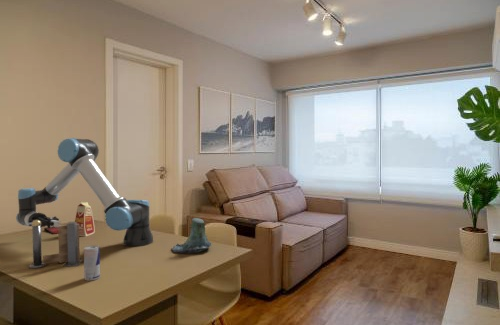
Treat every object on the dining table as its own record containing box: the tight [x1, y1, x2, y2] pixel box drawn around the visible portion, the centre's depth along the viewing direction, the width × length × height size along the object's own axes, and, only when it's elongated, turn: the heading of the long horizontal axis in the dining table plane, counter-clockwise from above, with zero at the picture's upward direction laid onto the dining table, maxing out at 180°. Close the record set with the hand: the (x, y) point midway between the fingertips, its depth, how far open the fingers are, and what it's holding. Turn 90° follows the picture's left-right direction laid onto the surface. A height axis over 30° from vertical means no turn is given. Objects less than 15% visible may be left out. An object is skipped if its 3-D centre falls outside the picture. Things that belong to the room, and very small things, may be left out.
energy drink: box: [83, 245, 101, 282], centre depth 127 cm, size 5×5×12 cm
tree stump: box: [171, 217, 212, 254], centre depth 165 cm, size 18×20×18 cm
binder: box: [43, 226, 59, 235], centre depth 211 cm, size 16×2×21 cm
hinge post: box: [28, 220, 47, 269], centre depth 141 cm, size 6×6×20 cm
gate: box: [42, 224, 81, 264], centre depth 146 cm, size 14×2×16 cm, turn 120°
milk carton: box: [74, 201, 96, 237], centre depth 198 cm, size 9×9×20 cm
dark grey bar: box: [62, 221, 84, 268], centre depth 144 cm, size 6×6×18 cm
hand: (58, 224), depth 156 cm, fingers closed
